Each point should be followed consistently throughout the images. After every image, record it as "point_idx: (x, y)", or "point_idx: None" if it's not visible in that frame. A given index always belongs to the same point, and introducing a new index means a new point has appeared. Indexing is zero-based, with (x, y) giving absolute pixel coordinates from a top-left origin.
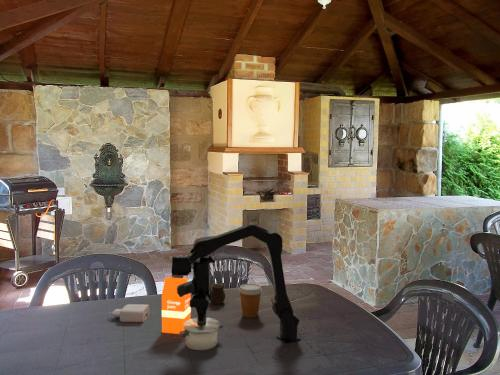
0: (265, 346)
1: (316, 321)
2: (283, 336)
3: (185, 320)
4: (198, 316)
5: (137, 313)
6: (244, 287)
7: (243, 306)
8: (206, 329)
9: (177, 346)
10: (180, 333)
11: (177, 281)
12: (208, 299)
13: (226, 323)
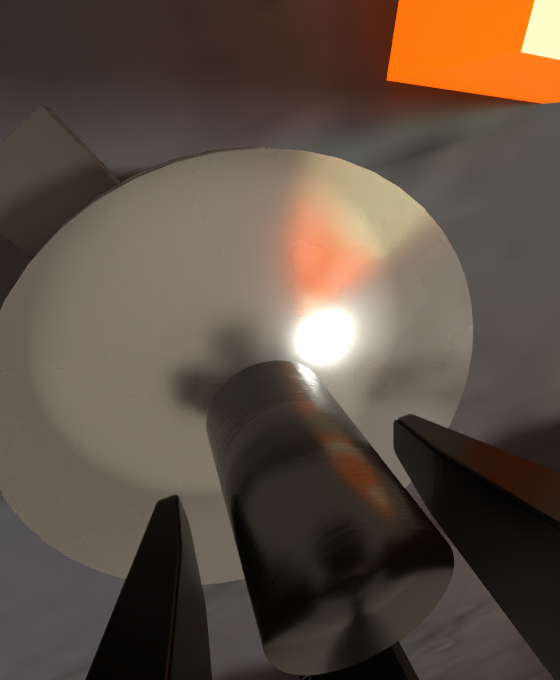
0: (250, 631)
1: (500, 648)
2: (332, 676)
3: (528, 67)
4: (120, 600)
5: None
6: None
7: None
8: (91, 541)
9: (76, 86)
10: (10, 139)
11: None
12: None
13: (546, 359)
